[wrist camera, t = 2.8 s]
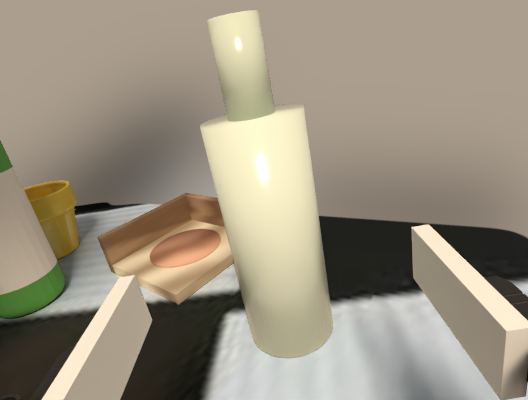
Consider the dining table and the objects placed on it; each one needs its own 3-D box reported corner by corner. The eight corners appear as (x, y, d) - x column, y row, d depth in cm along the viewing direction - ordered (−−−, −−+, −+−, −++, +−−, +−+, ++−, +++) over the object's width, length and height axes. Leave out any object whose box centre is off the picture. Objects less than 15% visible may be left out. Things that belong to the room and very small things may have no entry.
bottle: (235, 337, 30) (151, 32, 21) (282, 290, 35) (231, 24, 26) (303, 372, 26) (234, 3, 17) (347, 313, 30) (312, 1, 22)
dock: (111, 271, 45) (97, 237, 43) (194, 222, 54) (186, 192, 52) (178, 304, 36) (165, 262, 34) (264, 239, 45) (256, 203, 43)
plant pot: (105, 231, 58) (83, 175, 54) (68, 266, 48) (38, 201, 45) (48, 239, 59) (22, 185, 55) (1, 275, 50) (-33, 212, 46)
